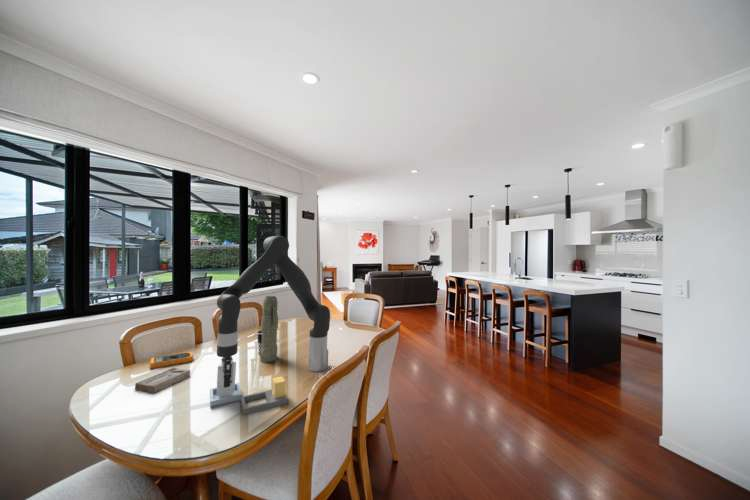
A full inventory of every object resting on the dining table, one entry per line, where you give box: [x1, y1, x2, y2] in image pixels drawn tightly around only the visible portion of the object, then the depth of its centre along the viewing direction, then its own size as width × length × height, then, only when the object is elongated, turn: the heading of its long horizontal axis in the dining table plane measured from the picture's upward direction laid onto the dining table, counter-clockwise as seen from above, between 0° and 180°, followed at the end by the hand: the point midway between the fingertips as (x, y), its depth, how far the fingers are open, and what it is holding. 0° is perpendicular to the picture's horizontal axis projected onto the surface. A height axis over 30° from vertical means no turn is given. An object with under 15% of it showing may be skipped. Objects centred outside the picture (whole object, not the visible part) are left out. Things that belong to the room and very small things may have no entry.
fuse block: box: [240, 376, 288, 415], centre depth 112 cm, size 16×10×8 cm, turn 122°
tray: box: [209, 382, 243, 409], centre depth 114 cm, size 11×11×2 cm
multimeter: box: [149, 351, 194, 369], centre depth 147 cm, size 9×18×3 cm, turn 127°
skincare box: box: [216, 361, 237, 396], centre depth 114 cm, size 6×4×12 cm
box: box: [134, 367, 191, 394], centre depth 125 cm, size 11×17×3 cm, turn 165°
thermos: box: [259, 295, 279, 363], centre depth 154 cm, size 9×12×35 cm
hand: (226, 383), depth 114 cm, fingers closed on skincare box, 5 cm apart
